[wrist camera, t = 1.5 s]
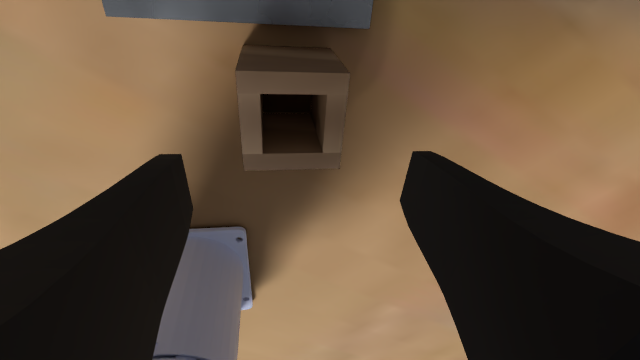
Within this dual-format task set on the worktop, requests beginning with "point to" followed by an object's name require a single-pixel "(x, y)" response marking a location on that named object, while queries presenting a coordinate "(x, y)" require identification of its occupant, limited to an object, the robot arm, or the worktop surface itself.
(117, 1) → the pin plate
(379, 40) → the worktop surface
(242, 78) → the hollow block
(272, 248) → the worktop surface
